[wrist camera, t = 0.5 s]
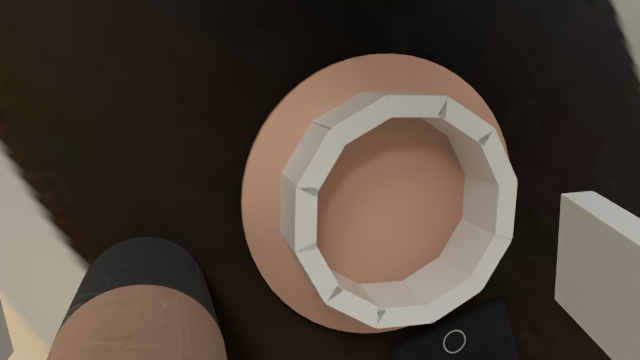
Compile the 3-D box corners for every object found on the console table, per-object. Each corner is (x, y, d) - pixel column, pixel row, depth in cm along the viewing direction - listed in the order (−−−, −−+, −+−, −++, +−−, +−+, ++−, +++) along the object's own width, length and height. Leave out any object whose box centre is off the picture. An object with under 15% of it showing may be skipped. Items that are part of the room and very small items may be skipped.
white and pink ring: (337, -6, 34) (364, -17, 29) (549, 144, 40) (600, 154, 35) (185, 257, 34) (189, 286, 30) (416, 367, 40) (449, 405, 36)
